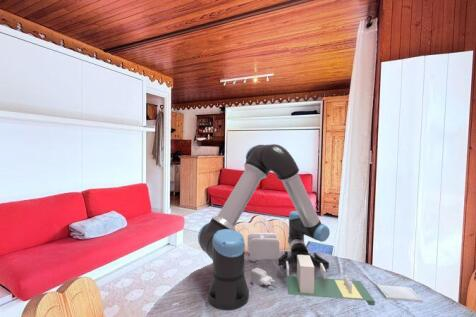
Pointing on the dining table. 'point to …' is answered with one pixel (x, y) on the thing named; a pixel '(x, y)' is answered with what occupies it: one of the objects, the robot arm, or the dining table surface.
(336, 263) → the dining table surface
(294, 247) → the robot arm
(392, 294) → the hard drive
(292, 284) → the board
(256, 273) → the power adapter
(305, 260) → the block
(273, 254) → the cable organizer
